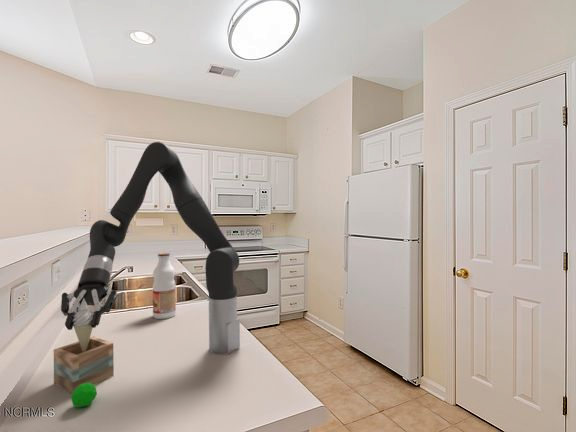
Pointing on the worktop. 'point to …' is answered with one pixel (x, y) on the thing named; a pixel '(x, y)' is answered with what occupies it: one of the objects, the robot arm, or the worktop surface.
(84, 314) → the ice cream cone
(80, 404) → the polyhedron
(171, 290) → the fruit juice
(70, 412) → the worktop surface
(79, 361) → the square wooden crate
